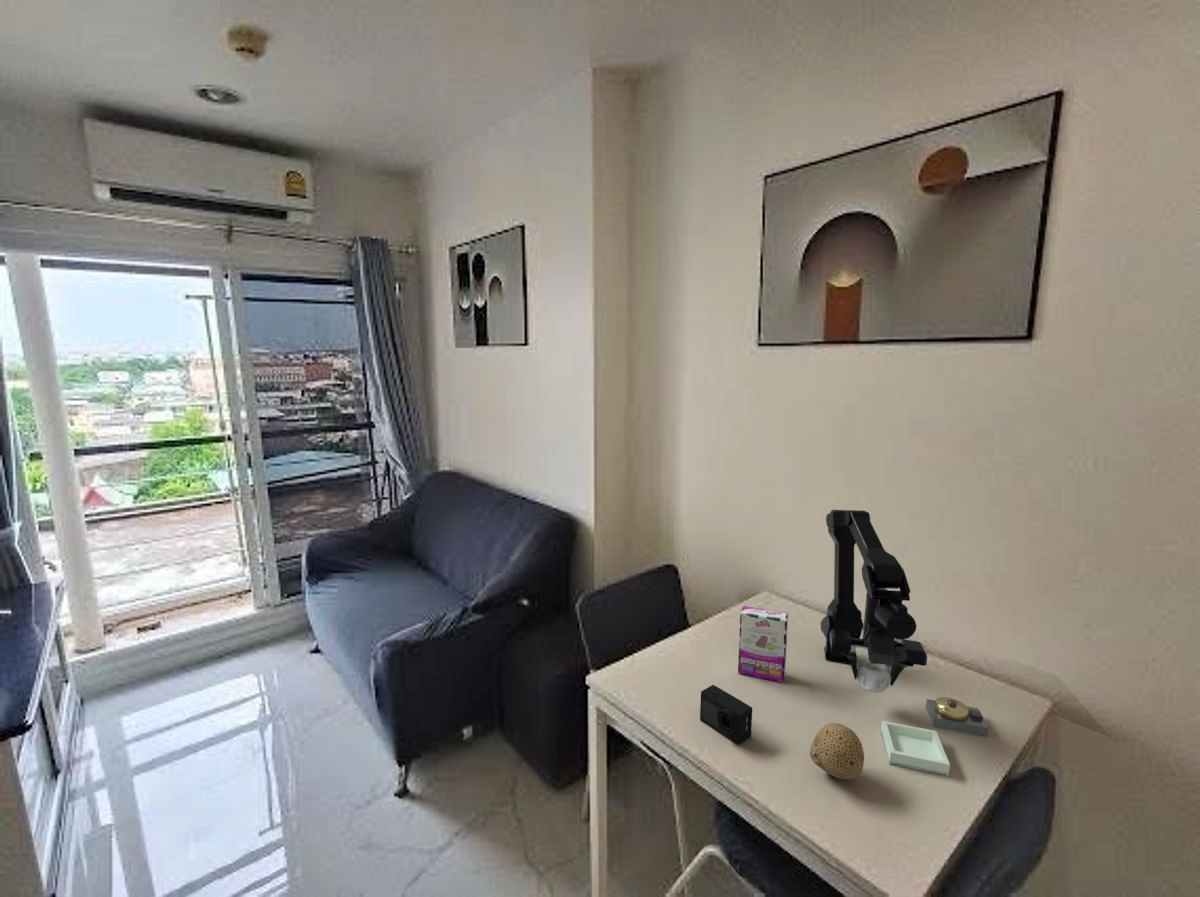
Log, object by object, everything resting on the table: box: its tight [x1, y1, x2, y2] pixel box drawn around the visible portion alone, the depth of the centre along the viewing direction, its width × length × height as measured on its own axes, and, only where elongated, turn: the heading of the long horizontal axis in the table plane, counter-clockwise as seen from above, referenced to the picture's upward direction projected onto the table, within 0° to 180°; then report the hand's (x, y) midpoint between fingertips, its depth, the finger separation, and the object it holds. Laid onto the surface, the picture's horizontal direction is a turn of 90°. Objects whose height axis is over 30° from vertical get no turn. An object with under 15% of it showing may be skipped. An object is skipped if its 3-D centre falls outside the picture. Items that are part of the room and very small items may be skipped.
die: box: [857, 659, 891, 694], centre depth 121 cm, size 5×5×5 cm
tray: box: [880, 720, 951, 776], centre depth 108 cm, size 10×10×2 cm
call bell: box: [925, 696, 990, 737], centre depth 117 cm, size 10×7×4 cm
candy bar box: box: [737, 605, 789, 684], centre depth 134 cm, size 11×5×16 cm, turn 68°
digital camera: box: [699, 684, 753, 746], centre depth 114 cm, size 10×5×7 cm, turn 39°
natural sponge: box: [809, 722, 865, 780], centre depth 101 cm, size 9×9×10 cm
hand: (873, 681), depth 121 cm, fingers closed on die, 7 cm apart
